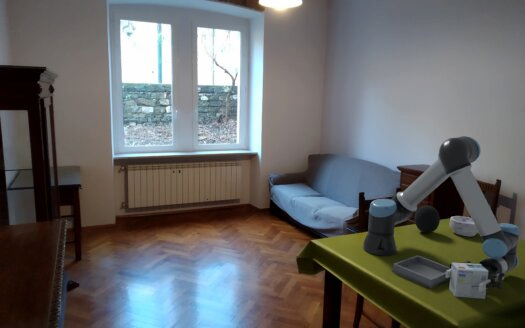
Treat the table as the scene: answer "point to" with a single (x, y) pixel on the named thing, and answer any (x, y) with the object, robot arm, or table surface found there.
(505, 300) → the table surface
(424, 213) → the decorative egg
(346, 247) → the table surface
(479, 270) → the light bulb box
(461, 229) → the paper bowls
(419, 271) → the tray
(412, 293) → the table surface
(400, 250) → the table surface
